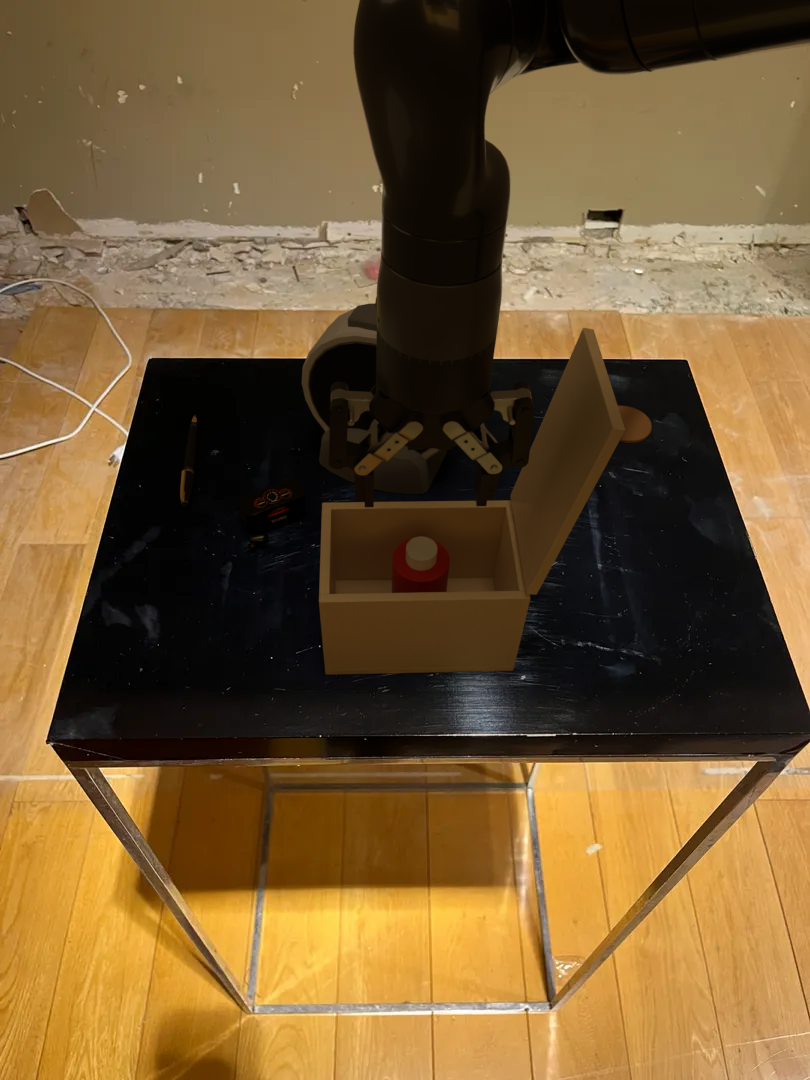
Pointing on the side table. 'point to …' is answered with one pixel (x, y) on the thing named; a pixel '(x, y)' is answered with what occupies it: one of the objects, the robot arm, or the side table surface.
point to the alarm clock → (353, 361)
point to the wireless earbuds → (271, 509)
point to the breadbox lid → (565, 459)
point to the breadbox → (429, 617)
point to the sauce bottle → (420, 566)
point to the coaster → (634, 425)
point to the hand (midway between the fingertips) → (424, 499)
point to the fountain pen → (189, 465)
